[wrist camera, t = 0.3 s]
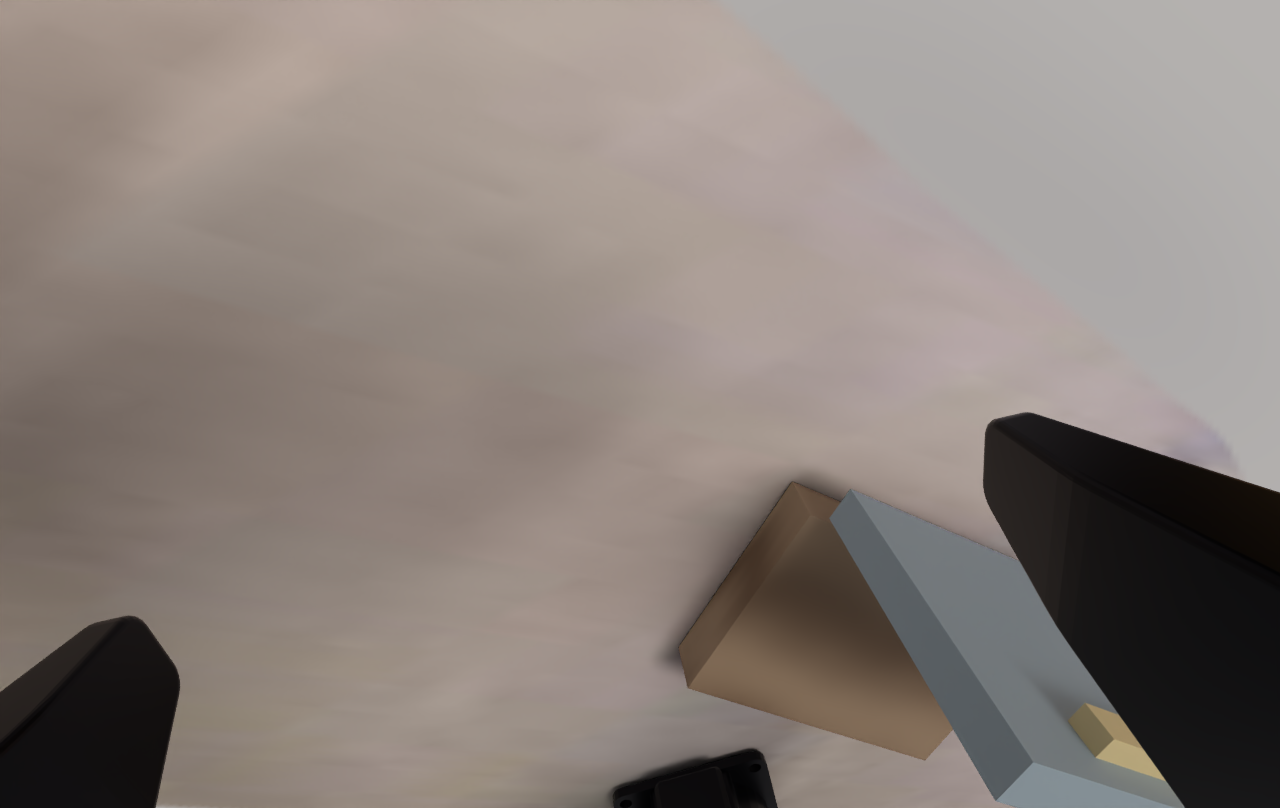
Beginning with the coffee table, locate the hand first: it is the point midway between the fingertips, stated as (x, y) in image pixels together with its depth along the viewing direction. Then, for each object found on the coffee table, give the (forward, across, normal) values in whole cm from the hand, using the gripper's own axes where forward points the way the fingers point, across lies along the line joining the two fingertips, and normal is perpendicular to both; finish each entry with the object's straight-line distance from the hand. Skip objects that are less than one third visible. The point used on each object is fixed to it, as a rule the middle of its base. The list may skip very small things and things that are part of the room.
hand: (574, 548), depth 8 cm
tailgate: (+13, -11, +14) cm, 21 cm away
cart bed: (+15, -7, +18) cm, 24 cm away
